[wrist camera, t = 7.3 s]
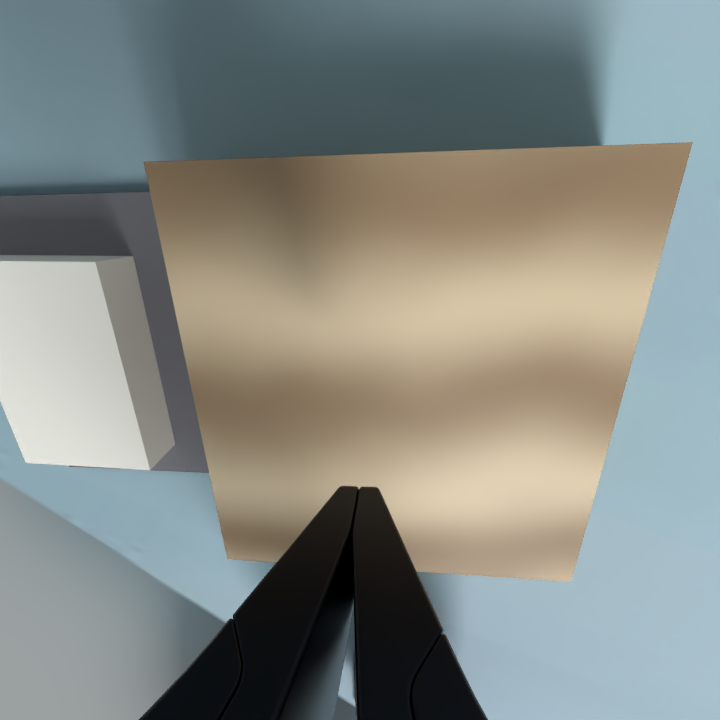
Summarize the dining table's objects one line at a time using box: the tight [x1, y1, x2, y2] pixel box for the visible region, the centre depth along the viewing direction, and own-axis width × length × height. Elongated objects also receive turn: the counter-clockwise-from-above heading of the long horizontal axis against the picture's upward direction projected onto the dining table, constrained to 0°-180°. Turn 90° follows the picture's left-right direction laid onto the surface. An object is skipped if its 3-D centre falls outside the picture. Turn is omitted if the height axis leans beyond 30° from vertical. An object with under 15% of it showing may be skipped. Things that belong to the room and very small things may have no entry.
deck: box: [144, 142, 693, 582], centre depth 14 cm, size 15×14×4 cm
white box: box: [0, 255, 175, 470], centre depth 16 cm, size 9×6×2 cm, turn 0°
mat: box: [0, 192, 209, 473], centre depth 17 cm, size 13×10×1 cm
